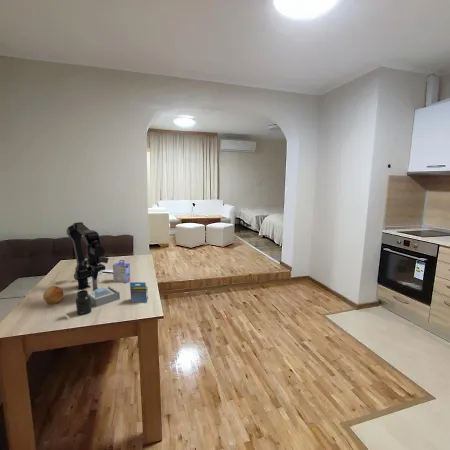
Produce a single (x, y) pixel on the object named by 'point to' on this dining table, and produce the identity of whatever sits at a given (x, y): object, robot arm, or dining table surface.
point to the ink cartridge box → (121, 272)
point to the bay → (105, 298)
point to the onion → (53, 295)
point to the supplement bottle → (83, 303)
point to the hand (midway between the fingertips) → (94, 279)
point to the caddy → (97, 288)
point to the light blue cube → (100, 292)
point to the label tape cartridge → (139, 292)
